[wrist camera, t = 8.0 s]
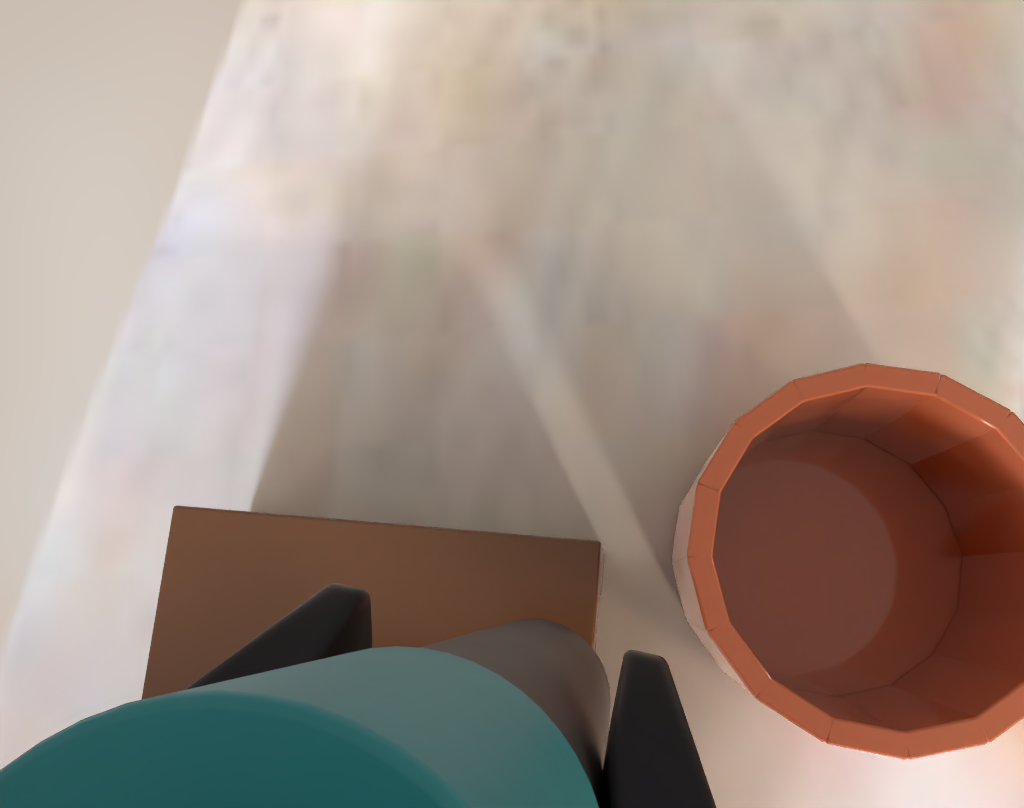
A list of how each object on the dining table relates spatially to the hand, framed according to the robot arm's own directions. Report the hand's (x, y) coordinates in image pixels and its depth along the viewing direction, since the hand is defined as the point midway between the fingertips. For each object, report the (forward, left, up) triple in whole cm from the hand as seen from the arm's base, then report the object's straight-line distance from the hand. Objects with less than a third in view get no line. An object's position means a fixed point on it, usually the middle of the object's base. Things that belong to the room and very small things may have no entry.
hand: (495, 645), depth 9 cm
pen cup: (+6, -3, -14) cm, 15 cm away
